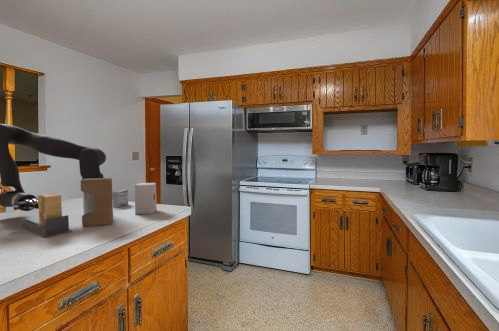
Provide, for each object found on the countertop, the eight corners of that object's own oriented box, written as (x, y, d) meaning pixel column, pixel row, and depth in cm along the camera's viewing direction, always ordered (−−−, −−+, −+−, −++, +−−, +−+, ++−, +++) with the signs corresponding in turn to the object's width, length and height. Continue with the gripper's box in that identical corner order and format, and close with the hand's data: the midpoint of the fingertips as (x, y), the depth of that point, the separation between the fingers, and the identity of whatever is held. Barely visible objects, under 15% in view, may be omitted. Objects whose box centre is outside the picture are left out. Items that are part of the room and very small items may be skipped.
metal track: (21, 227, 115) (20, 211, 114) (46, 222, 122) (45, 207, 122) (44, 237, 101) (43, 220, 100) (71, 231, 108) (70, 215, 108)
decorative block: (81, 227, 115) (79, 180, 113) (86, 223, 120) (84, 178, 119) (110, 225, 117) (108, 179, 116) (113, 221, 123) (112, 177, 122)
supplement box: (153, 214, 137) (152, 184, 136) (134, 214, 136) (134, 185, 135) (157, 210, 146) (156, 182, 145) (139, 210, 145) (138, 182, 144)
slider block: (39, 229, 109) (37, 194, 108) (54, 226, 113) (52, 193, 112) (47, 232, 104) (46, 196, 103) (62, 229, 108) (60, 194, 107)
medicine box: (119, 207, 153) (119, 192, 153) (112, 207, 154) (112, 191, 154) (128, 204, 161) (128, 190, 161) (121, 204, 162) (121, 189, 162)
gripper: (5, 195, 118) (18, 199, 108) (41, 191, 129) (56, 195, 119) (6, 212, 119) (20, 218, 109) (42, 207, 130) (57, 211, 120)
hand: (39, 206), depth 114 cm, fingers closed
